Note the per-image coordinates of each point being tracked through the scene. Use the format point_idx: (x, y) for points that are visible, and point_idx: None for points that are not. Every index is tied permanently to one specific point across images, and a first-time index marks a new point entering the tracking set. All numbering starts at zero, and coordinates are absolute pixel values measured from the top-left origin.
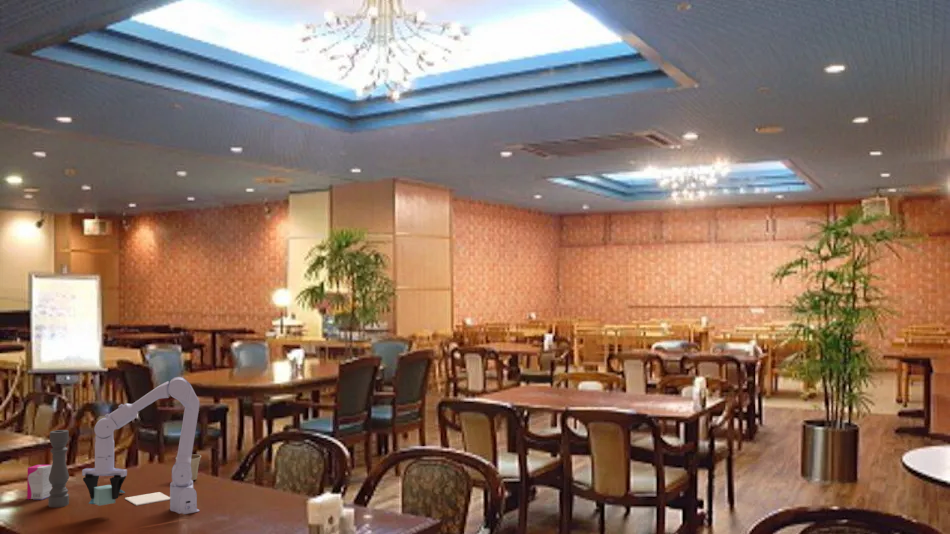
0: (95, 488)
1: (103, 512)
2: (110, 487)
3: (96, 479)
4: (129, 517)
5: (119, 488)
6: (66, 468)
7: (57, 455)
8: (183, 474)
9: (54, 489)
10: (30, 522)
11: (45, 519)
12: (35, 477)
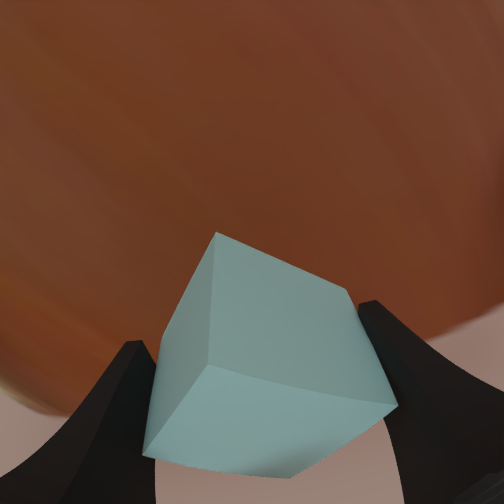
0: (195, 464)
1: (157, 188)
2: (345, 428)
3: (96, 501)
4: (416, 229)
5: (430, 362)
6: None
7: None
8: None
9: None
10: (43, 390)
11: (39, 361)
12: None
